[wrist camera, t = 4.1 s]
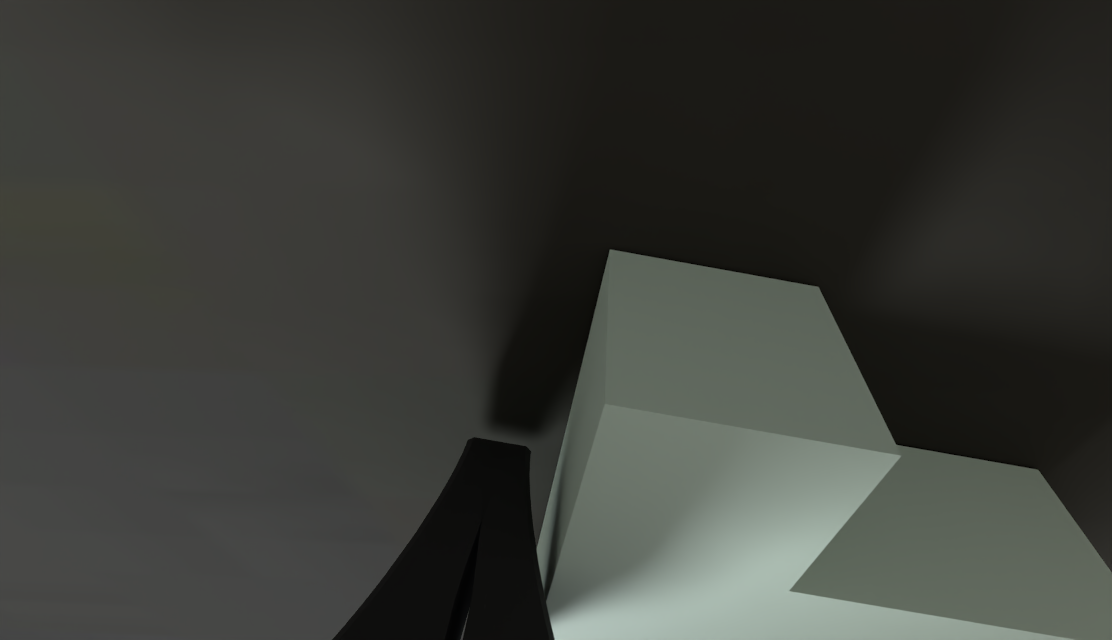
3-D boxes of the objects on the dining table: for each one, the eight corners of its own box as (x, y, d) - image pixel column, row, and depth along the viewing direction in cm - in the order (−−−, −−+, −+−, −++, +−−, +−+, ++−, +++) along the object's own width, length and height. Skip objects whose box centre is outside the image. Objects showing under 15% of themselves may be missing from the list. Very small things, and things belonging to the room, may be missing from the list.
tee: (873, 620, 16) (927, 778, 13) (533, 562, 15) (513, 711, 13) (1169, 349, 9) (1397, 542, 7) (609, 249, 9) (604, 403, 6)
